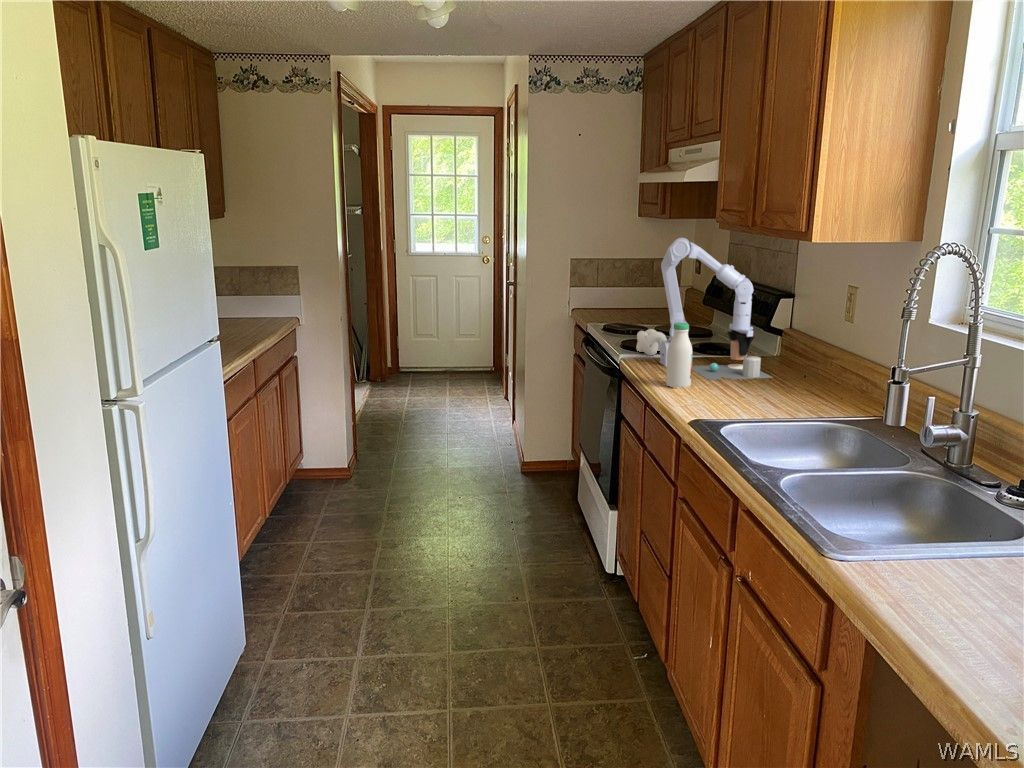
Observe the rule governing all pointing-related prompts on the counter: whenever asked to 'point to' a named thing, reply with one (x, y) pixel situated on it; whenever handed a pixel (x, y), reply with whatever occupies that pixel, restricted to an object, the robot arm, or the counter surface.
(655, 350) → the white puffy twist
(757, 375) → the white domed cylinder
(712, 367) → the teal marble
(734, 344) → the peach domed cylinder
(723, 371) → the slate mat
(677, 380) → the milk bottle
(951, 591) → the counter surface
